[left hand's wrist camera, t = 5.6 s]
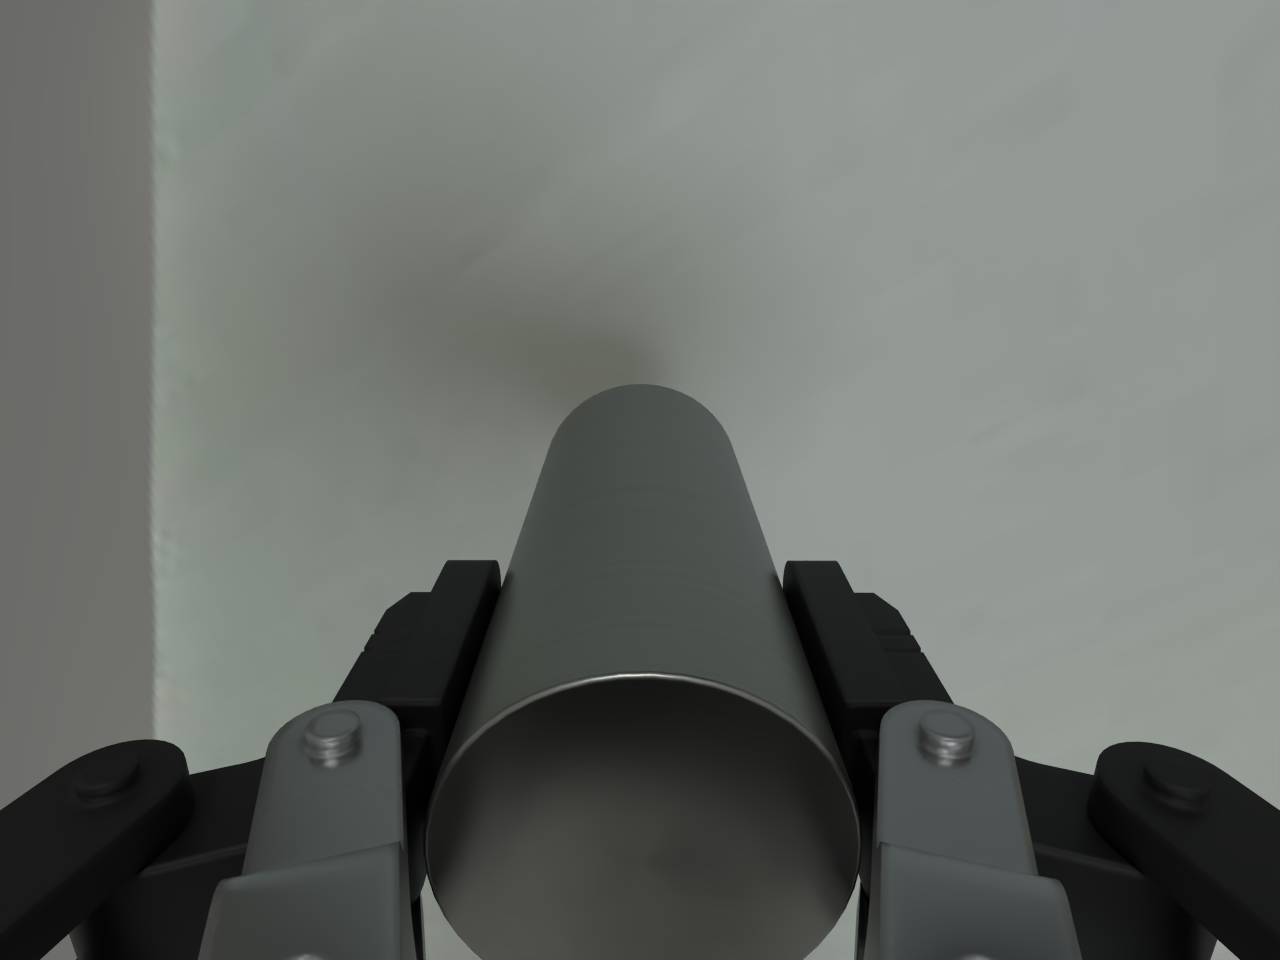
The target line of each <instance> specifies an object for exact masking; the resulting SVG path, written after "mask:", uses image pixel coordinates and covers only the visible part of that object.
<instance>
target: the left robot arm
mask: <svg viewBox="0 0 1280 960" xmlns="http://www.w3.org/2000/svg"><path fill="white" fill-rule="evenodd" d="M500 591H501V576H500V568H499V564H498V562H497V561H496V560H448V561H447V562H446V563H445V565H444V567H443V569H442V571H441V573H440V575H439V577H438V579H437V581H436V583H435V585H434V587H433V589H432V591H431V592H410V593H409V594H408V595H406V596H405V597H404V598H402V599H401V600H399V601H398V602H397V603H395V604H394V605H392V606H391V607H390V608H388V609H387V610H386V612H385V613H384V615H383V617H382V618H381V620H380V622H379V623H378V625H377V627H376V628H375V630H374V634H372V635H371V637H370V639H369V640H368V642H367V644H366V645H365V647H364V652H361V654H360V656H359V657H358V659H357V661H356V662H355V664H354V666H353V668H352V669H351V671H350V673H349V674H348V676H347V678H346V679H345V681H344V683H343V685H342V686H341V688H340V690H339V691H338V693H337V695H336V696H335V698H334V700H333V702H332V703H329V704H325V705H322V706H319V707H316V708H313V709H311V710H308V711H306V712H304V713H302V714H300V715H298V716H296V717H295V718H293V719H292V720H290V721H289V722H287V723H286V724H285V725H284V726H283V727H282V728H280V729H279V730H278V732H277V733H276V734H275V735H274V736H273V738H272V739H271V741H270V743H269V745H268V748H267V752H266V757H264V758H261V759H258V760H254V761H250V762H247V763H242V764H238V765H233V766H228V767H224V768H219V769H214V770H210V771H205V772H200V773H195V774H191V775H189V771H188V766H187V762H186V758H185V756H184V753H183V752H182V751H181V749H180V748H179V747H177V746H175V745H174V744H172V743H169V742H166V741H160V740H134V741H128V742H122V743H118V744H114V745H110V746H107V747H104V748H101V749H98V750H95V751H93V752H91V753H88V754H86V755H84V756H81V757H80V758H78V759H76V760H74V761H72V762H70V763H68V764H67V765H65V766H64V767H62V768H60V769H59V770H57V771H56V772H55V773H53V774H52V775H50V776H49V777H47V778H46V779H45V780H43V781H42V782H40V783H39V784H37V785H36V786H35V787H33V788H32V789H30V790H29V791H27V792H26V793H25V794H23V795H22V796H20V797H19V798H17V799H16V800H15V801H13V802H12V803H10V804H9V805H7V806H6V807H5V808H3V809H2V810H0V960H40V959H41V958H42V957H43V956H45V955H46V954H47V953H48V952H49V951H50V950H51V949H52V948H53V947H54V946H56V945H57V944H58V943H59V942H60V941H61V940H62V939H63V938H64V937H66V936H67V935H68V934H69V935H70V938H71V941H72V944H73V947H74V950H75V953H76V956H77V959H76V960H426V952H425V934H424V916H423V905H422V897H421V890H422V887H423V884H424V881H425V878H426V875H427V871H426V864H425V858H424V851H423V837H424V823H425V818H426V812H427V807H428V803H429V800H430V797H431V794H432V792H433V789H434V786H435V783H436V780H437V777H438V774H439V771H440V768H441V765H442V762H443V759H444V756H445V753H446V750H447V747H448V744H449V741H450V738H451V735H452V733H453V730H454V727H455V724H456V721H457V718H458V715H459V712H460V709H461V706H462V703H463V700H464V697H465V694H466V691H467V688H468V685H469V682H470V679H471V676H472V674H473V671H474V668H475V665H476V662H477V659H478V656H479V653H480V650H481V647H482V644H483V641H484V638H485V635H486V632H487V629H488V626H489V623H490V620H491V617H492V615H493V612H494V609H495V606H496V603H497V600H498V597H499V594H500ZM783 592H784V595H785V598H786V601H787V603H788V606H789V609H790V612H791V615H792V618H793V620H794V623H795V626H796V629H797V632H798V635H799V637H800V640H801V643H802V646H803V649H804V652H805V655H806V657H807V660H808V663H809V666H810V669H811V672H812V674H813V677H814V680H815V683H816V686H817V689H818V692H819V694H820V697H821V700H822V703H823V706H824V709H825V711H826V714H827V717H828V720H829V723H830V726H831V728H832V731H833V734H834V737H835V740H836V743H837V746H838V748H839V751H840V754H841V757H842V760H843V763H844V765H845V768H846V771H847V774H848V777H849V780H850V783H851V785H852V788H853V791H854V794H855V797H856V801H857V805H858V809H859V813H860V817H861V825H862V838H863V844H862V855H861V864H860V869H859V876H860V880H861V881H860V889H859V897H858V905H857V916H856V934H855V952H854V960H1210V959H1211V956H1212V953H1213V950H1214V948H1215V945H1216V942H1217V939H1218V940H1219V941H1220V942H1221V943H1222V944H1223V945H1224V946H1226V947H1227V948H1228V949H1229V950H1230V951H1231V952H1232V953H1233V954H1234V955H1235V956H1237V957H1238V958H1239V959H1240V960H1280V810H1278V809H1277V808H1276V807H1274V806H1273V805H1271V804H1270V803H1268V802H1267V801H1265V800H1264V799H1263V798H1261V797H1260V796H1258V795H1257V794H1255V793H1254V792H1253V791H1251V790H1250V789H1248V788H1247V787H1245V786H1244V785H1243V784H1241V783H1240V782H1238V781H1237V780H1235V779H1234V778H1233V777H1231V776H1230V775H1228V774H1227V773H1225V772H1224V771H1222V770H1221V769H1219V768H1218V767H1216V766H1214V765H1213V764H1211V763H1209V762H1207V761H1205V760H1203V759H1201V758H1199V757H1197V756H1194V755H1192V754H1190V753H1187V752H1184V751H1181V750H1179V749H1176V748H1172V747H1168V746H1164V745H1160V744H1154V743H1147V742H1124V743H1118V744H1115V745H1112V746H1109V747H1108V748H1106V749H1105V750H1103V752H1102V753H1101V754H1100V755H1099V758H1098V761H1097V764H1096V768H1095V772H1094V775H1090V774H1086V773H1081V772H1076V771H1072V770H1067V769H1062V768H1057V767H1053V766H1048V765H1043V764H1039V763H1035V762H1032V761H1028V760H1025V759H1022V758H1019V757H1016V756H1014V752H1013V748H1012V745H1011V743H1010V741H1009V739H1008V738H1007V736H1006V735H1005V734H1004V733H1003V732H1002V730H1001V729H1000V728H998V727H997V726H996V725H995V724H994V723H993V722H991V721H990V720H988V719H987V718H985V717H984V716H982V715H980V714H978V713H976V712H974V711H972V710H969V709H967V708H964V707H961V706H958V705H955V704H954V703H953V701H952V700H951V698H950V696H949V695H948V693H947V691H946V690H945V688H944V686H943V685H942V683H941V681H940V680H939V678H938V676H937V675H936V673H935V671H934V670H933V668H932V666H931V665H930V663H929V661H928V660H927V658H926V656H925V655H924V653H921V648H920V646H919V645H918V643H917V641H916V640H915V638H914V636H913V635H911V634H910V630H909V628H908V626H907V625H906V623H905V621H904V620H903V618H902V616H901V615H900V613H899V611H898V610H897V609H895V608H894V607H893V606H891V605H890V604H888V603H887V602H886V601H884V600H883V599H881V598H880V597H879V596H877V595H876V594H874V593H854V592H853V590H852V588H851V586H850V584H849V582H848V580H847V578H846V577H845V575H844V573H843V571H842V569H841V567H840V565H839V563H838V562H837V561H787V562H786V565H785V569H784V576H783Z"/></svg>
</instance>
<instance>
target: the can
mask: <svg viewBox="0 0 1280 960" xmlns="http://www.w3.org/2000/svg"><path fill="white" fill-rule="evenodd" d="M862 844H863V838H862V825H861V817H860V813H859V809H858V805H857V801H856V797H855V794H854V791H853V788H852V785H851V783H850V780H849V777H848V774H847V771H846V768H845V765H844V763H843V760H842V757H841V754H840V751H839V748H838V746H837V743H836V740H835V737H834V734H833V731H832V728H831V726H830V723H829V720H828V717H827V714H826V711H825V709H824V706H823V703H822V700H821V697H820V694H819V692H818V689H817V686H816V683H815V680H814V677H813V674H812V672H811V669H810V666H809V663H808V660H807V657H806V655H805V652H804V649H803V646H802V643H801V640H800V637H799V635H798V632H797V629H796V626H795V623H794V620H793V618H792V615H791V612H790V609H789V606H788V603H787V601H786V598H785V595H784V592H783V589H782V586H781V583H780V581H779V578H778V575H777V572H776V569H775V566H774V564H773V561H772V558H771V555H770V552H769V549H768V546H767V544H766V541H765V538H764V535H763V532H762V529H761V527H760V524H759V521H758V518H757V515H756V512H755V510H754V507H753V504H752V501H751V498H750V495H749V492H748V490H747V487H746V484H745V481H744V478H743V475H742V473H741V470H740V467H739V464H738V461H737V458H736V455H735V453H734V450H733V447H732V445H731V442H730V440H729V437H728V435H727V434H726V432H725V430H724V429H723V427H722V425H721V424H720V423H719V421H718V420H717V419H716V418H715V416H714V415H713V414H712V413H711V412H710V411H709V410H707V409H706V408H705V407H704V406H703V405H701V404H700V403H699V402H697V401H696V400H695V399H693V398H691V397H689V396H687V395H685V394H683V393H681V392H678V391H676V390H673V389H670V388H666V387H662V386H657V385H648V384H634V385H626V386H619V387H616V388H612V389H609V390H606V391H603V392H601V393H599V394H596V395H594V396H593V397H591V398H589V399H588V400H586V401H584V402H583V403H582V404H580V405H579V406H578V407H577V408H575V409H574V410H573V411H572V412H571V413H570V414H569V415H568V416H567V417H566V418H565V420H564V421H563V422H562V424H561V425H560V427H559V428H558V429H557V431H556V433H555V435H554V437H553V439H552V441H551V444H550V447H549V449H548V452H547V455H546V458H545V461H544V464H543V467H542V470H541V473H540V476H539V479H538V482H537V485H536V488H535V491H534V494H533V497H532V500H531V502H530V505H529V508H528V511H527V514H526V517H525V520H524V523H523V526H522V529H521V532H520V535H519V538H518V541H517V544H516V547H515V550H514V553H513V556H512V559H511V561H510V564H509V567H508V570H507V573H506V576H505V579H504V582H503V585H502V588H501V591H500V594H499V597H498V600H497V603H496V606H495V609H494V612H493V615H492V617H491V620H490V623H489V626H488V629H487V632H486V635H485V638H484V641H483V644H482V647H481V650H480V653H479V656H478V659H477V662H476V665H475V668H474V671H473V674H472V676H471V679H470V682H469V685H468V688H467V691H466V694H465V697H464V700H463V703H462V706H461V709H460V712H459V715H458V718H457V721H456V724H455V727H454V730H453V733H452V735H451V738H450V741H449V744H448V747H447V750H446V753H445V756H444V759H443V762H442V765H441V768H440V771H439V774H438V777H437V780H436V783H435V786H434V789H433V792H432V794H431V797H430V800H429V803H428V807H427V812H426V818H425V823H424V837H423V851H424V858H425V864H426V871H427V876H428V879H429V882H430V885H431V888H432V891H433V894H434V897H435V899H436V901H437V903H438V905H439V907H440V909H441V911H442V913H443V915H444V916H445V918H446V919H447V921H448V922H449V924H450V925H451V926H452V928H453V929H454V931H455V932H456V933H457V935H458V936H459V937H460V938H461V939H462V940H463V941H464V942H465V943H466V944H467V946H468V947H469V948H470V949H471V950H472V951H473V952H474V953H475V954H477V955H478V956H479V957H480V958H481V959H483V960H803V959H804V958H805V957H806V956H807V955H808V954H809V953H811V952H812V951H813V950H814V949H815V948H816V947H817V946H818V945H819V944H820V943H821V942H822V940H823V939H824V938H825V937H826V936H827V935H828V933H829V932H830V931H831V930H832V929H833V927H834V926H835V924H836V923H837V921H838V919H839V918H840V916H841V915H842V913H843V912H844V910H845V908H846V906H847V904H848V902H849V899H850V897H851V895H852V892H853V890H854V888H855V884H856V880H857V876H858V873H859V869H860V864H861V855H862Z"/></svg>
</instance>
